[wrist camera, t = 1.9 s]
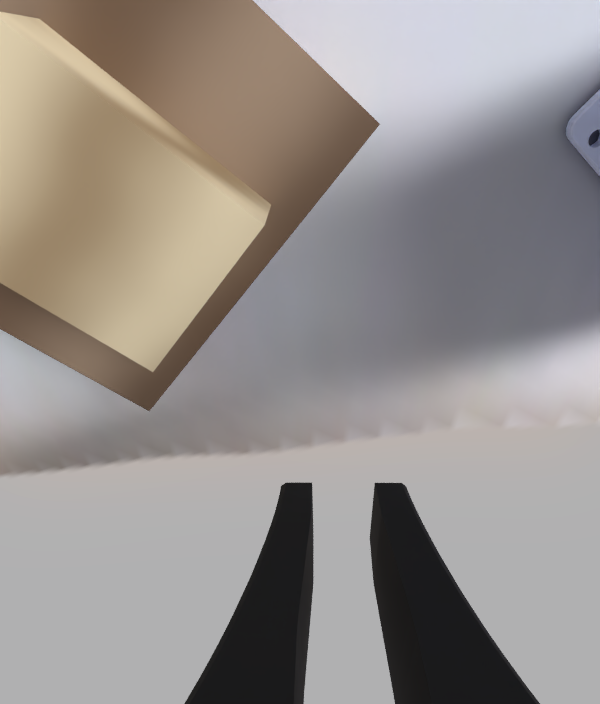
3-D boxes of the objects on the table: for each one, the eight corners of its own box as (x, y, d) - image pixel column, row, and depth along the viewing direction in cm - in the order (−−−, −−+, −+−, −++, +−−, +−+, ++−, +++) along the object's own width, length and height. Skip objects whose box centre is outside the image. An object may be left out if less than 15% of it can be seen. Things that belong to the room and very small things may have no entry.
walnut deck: (368, 113, 14) (379, 124, 12) (170, 367, 20) (149, 411, 17) (-5, -249, 10) (-109, -350, 8) (-117, 196, 16) (-198, 219, 13)
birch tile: (271, 204, 13) (264, 225, 11) (170, 339, 15) (153, 372, 14) (39, 18, 11) (-14, 9, 9) (-32, 213, 13) (-83, 234, 12)
